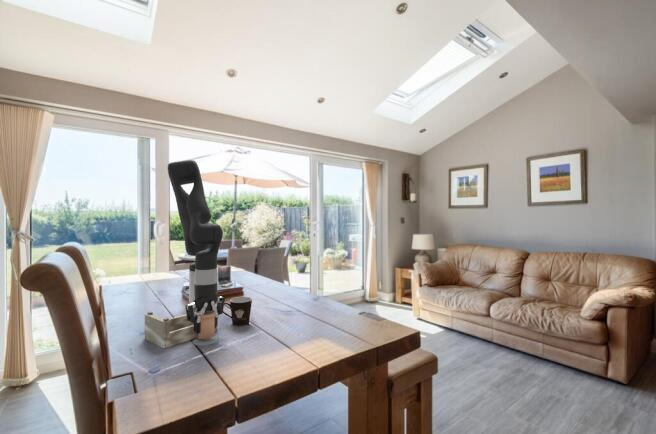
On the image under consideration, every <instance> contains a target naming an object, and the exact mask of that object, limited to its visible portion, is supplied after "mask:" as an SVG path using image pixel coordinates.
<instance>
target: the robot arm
mask: <svg viewBox="0 0 656 434" xmlns="http://www.w3.org/2000/svg"><path fill="white" fill-rule="evenodd" d="M167 173H168V178H169V180H170V184H171V187H172V191H173V194H174V197H175V202H176V206H177V207H176V208H177V211H178V217H179V221H180V224H181V226H182V228H181V229H182V231H183V239H184V246H185V250H186V253H187V255H188V256H190V257H195V258H194V259H195V262H192V263H190V264H189V266H188V267H189V269H188V270H189V271H188V272H189V275H188V276H189V277H188V278H189V279H188V282H189V284H188V285H189V286H188V303H186V304H185V311H186V313H185V314H187V319H188V321H190V322H192V323H194V332H195V333H197V334H199V333H200V324H201V323H200V320H201V319H200V316H202V315H203V314H204V312H206V311H214V312H216V316H215V328H216V326H217V324H218V322H219V320H218V317H220V315H222V314H224V313H223V311H224V307H225V305H224V303H226V302H225V300H226V297H223V296H221V295H219V296H218V293H219V292H218V290H219V288H218V286H219V283H218V280H219V279H218V278H219V277H218V276H219V275H218V272H219V271H218V254H219V252H220V251H219V250H220V247H221V242H222V240H223V236H224V232H223V228H222V227H221V225H220V224H219V223H209V222H210V221H211V219H212V214H211V211H210V208H209V204H208V202H207V199H206V195H205V190H204V184H203V180H202V175H201V171H200V168H199V165H198V163H197V161H196V160H194V159H185V160H184V159H183V160H179V161H172V162H169V163H168V164H167ZM189 184H193V186H192V189H191V190H190V193H188V192H186V190H185V189H184V188H183V185H189ZM199 311H200V313H199ZM194 312H195V313H194ZM194 314H195V315H194ZM197 315H198V317H197ZM217 321H218V322H217Z"/></svg>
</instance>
